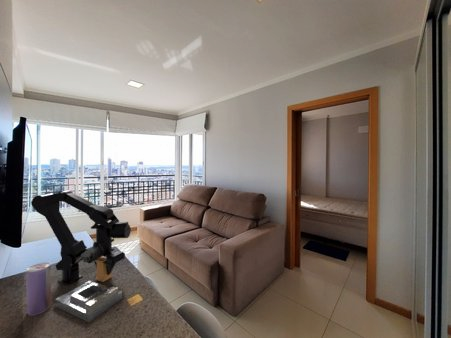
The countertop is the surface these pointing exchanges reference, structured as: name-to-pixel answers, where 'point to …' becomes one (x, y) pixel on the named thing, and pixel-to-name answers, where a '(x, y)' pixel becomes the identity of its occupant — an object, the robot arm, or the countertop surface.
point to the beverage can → (38, 288)
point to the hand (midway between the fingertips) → (104, 273)
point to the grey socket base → (89, 300)
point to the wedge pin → (102, 270)
